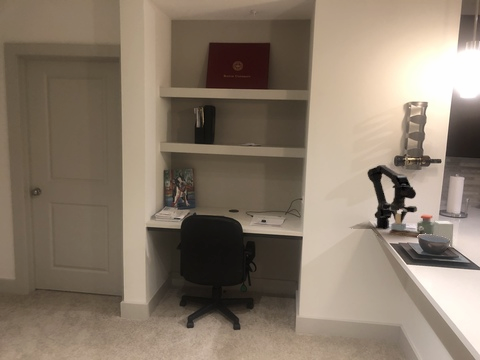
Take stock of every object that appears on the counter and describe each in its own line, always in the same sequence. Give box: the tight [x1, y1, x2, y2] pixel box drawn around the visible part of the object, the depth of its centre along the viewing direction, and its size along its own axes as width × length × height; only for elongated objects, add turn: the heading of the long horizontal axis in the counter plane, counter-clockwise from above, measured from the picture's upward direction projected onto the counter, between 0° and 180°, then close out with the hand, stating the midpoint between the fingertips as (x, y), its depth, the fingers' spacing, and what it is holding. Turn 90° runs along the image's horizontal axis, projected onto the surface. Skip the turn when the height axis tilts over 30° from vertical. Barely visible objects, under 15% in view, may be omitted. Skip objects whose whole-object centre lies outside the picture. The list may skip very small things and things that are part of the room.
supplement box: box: [433, 220, 454, 247], centre depth 196 cm, size 7×7×13 cm
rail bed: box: [389, 229, 426, 239], centre depth 219 cm, size 18×7×4 cm, turn 46°
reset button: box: [420, 214, 433, 224], centre depth 222 cm, size 5×5×6 cm
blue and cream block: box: [390, 212, 407, 230], centre depth 222 cm, size 6×7×9 cm
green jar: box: [416, 220, 434, 235], centre depth 223 cm, size 8×7×6 cm
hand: (398, 221), depth 222 cm, fingers closed on blue and cream block, 3 cm apart
